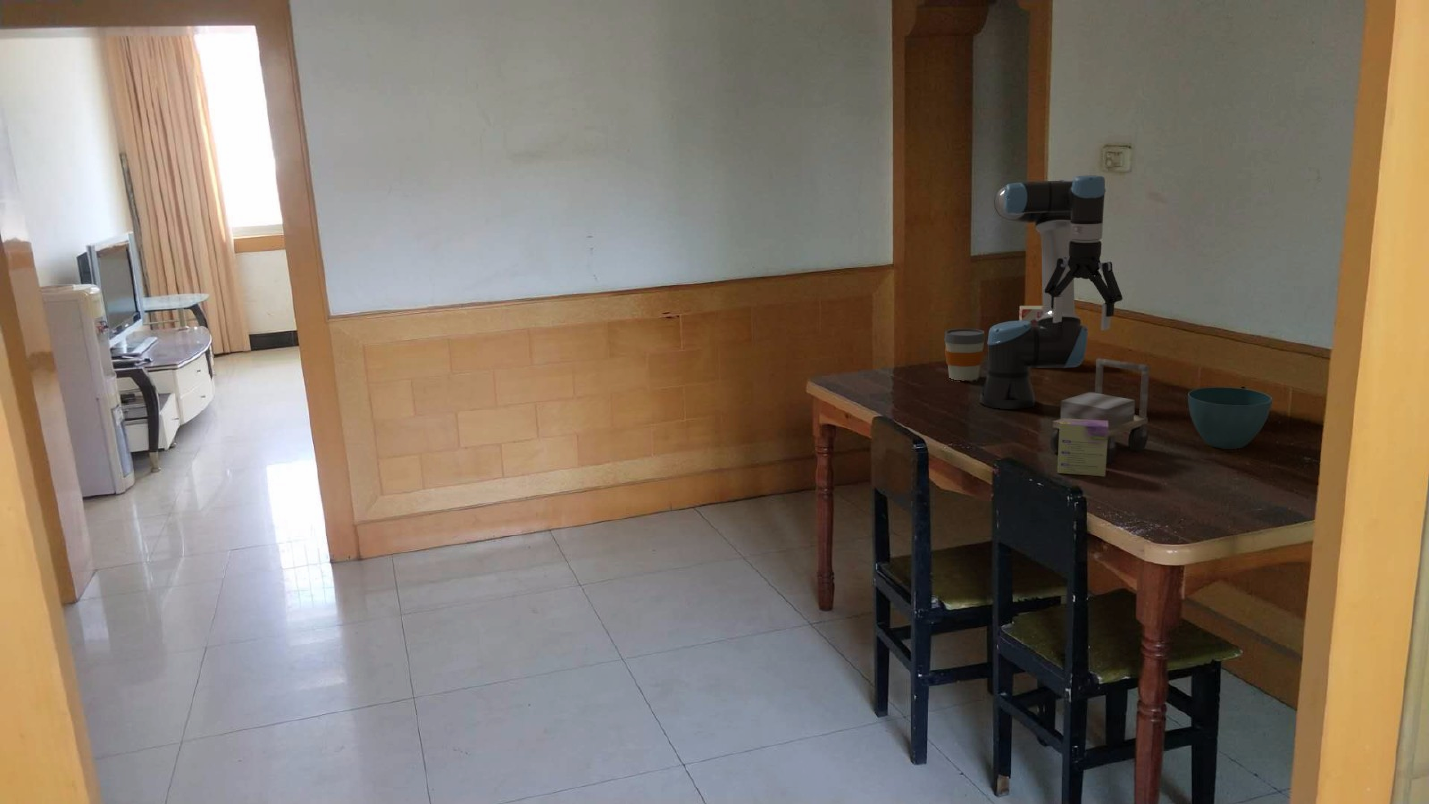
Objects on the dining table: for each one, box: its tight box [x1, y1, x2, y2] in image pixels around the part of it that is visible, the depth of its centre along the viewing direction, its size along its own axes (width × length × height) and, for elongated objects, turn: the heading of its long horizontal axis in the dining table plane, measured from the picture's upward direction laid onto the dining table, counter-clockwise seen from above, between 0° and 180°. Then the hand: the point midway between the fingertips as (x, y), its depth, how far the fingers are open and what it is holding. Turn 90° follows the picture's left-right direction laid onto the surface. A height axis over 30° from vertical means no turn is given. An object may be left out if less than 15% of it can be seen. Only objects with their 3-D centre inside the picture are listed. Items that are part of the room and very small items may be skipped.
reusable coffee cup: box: [943, 328, 986, 381], centre depth 333 cm, size 13×12×15 cm
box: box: [1057, 418, 1108, 478], centre depth 239 cm, size 10×6×12 cm, turn 71°
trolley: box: [1049, 357, 1151, 465], centre depth 252 cm, size 15×20×21 cm
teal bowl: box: [1187, 386, 1273, 450], centre depth 255 cm, size 18×18×12 cm
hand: (1080, 325), depth 263 cm, fingers open, 13 cm apart
